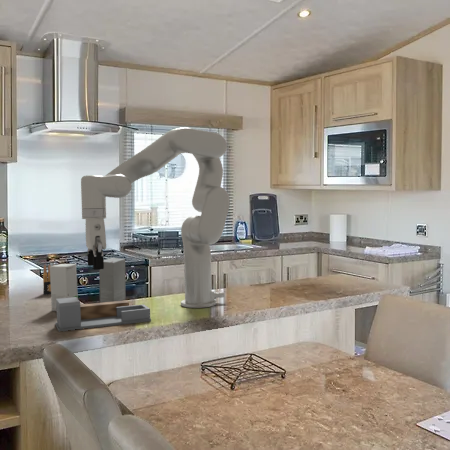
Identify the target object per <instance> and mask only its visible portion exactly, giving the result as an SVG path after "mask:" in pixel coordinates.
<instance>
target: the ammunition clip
mask: <svg viewBox="0 0 450 450" xmlns="http://www.w3.org/2000/svg"><path fill="white" fill-rule="evenodd" d="M59 264H60V263H57V265H59ZM66 264H69V262H67V263H66ZM54 265H56V264H55V263H53V265H52V266H54ZM47 266H48V267H47ZM50 266H51V264H48V265H46V264H44V265H43V274H42V278H43V279H42V283H43V285H42V286H43V288H42V289H43V293H42V294H43V295H45V296H46V295H51V281H50Z"/></svg>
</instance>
